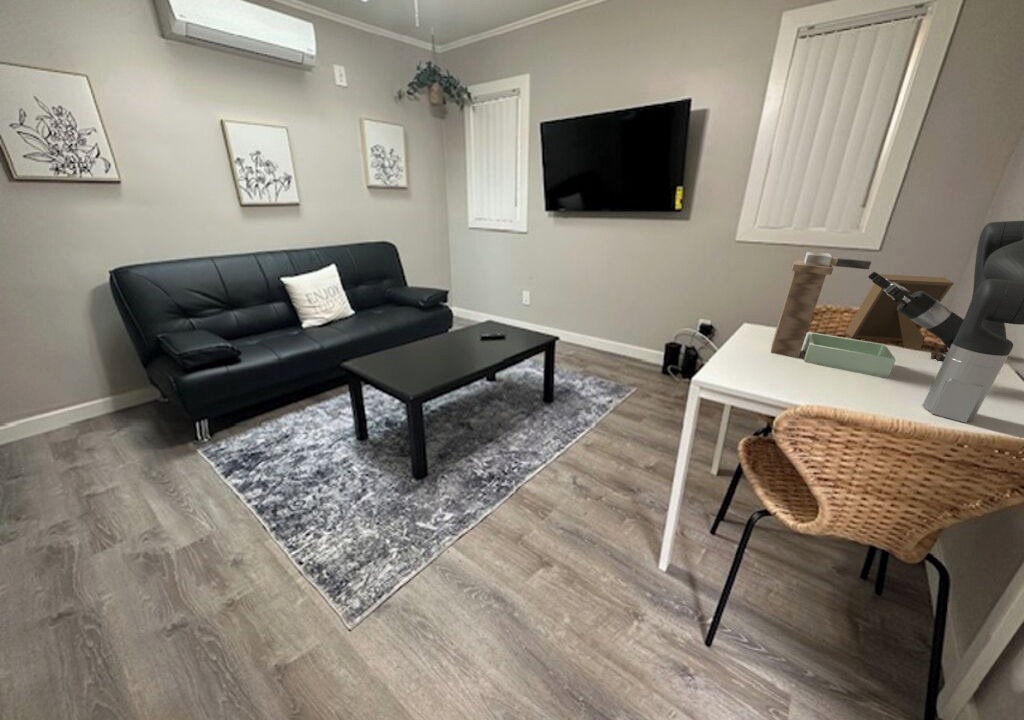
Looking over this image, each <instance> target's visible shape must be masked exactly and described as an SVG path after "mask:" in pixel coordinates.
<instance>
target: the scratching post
mask: <svg viewBox="0 0 1024 720" xmlns="http://www.w3.org/2000/svg"><path fill="white" fill-rule="evenodd" d="M804 260H805V259H804ZM804 260H803V259H795V258H794V259H792V262H791V272H792V273H793V274H792V276H791V280H790V283H789V286H788V290H787V292H786V297H785V299H784V303H783V306H782V308H781V313H780V316H779V320H778V322H777V326H776V329H775V332H774V335H773V338H772V339H773V340H772V343H771V348H770V353H772V354H775V355H781V356H786V357H792V358H797V359H799V358H800V354H801V352H802V350H803V346H804V343H805V340H806V337H807V334H808V332H809V328H810V325H811V321H812V319H813V316H814V313H815V309H816V308H817V303H818V301H819V297H820V295H821V292H822V288H823V285H824V282H825V279H826V276H828V275H829V276H831V275H832V273H833V270H834V266H829V267H824V266H814V265H805V262H804Z"/></svg>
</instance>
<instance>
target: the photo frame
mask: <svg viewBox="0 0 1024 720" xmlns="http://www.w3.org/2000/svg"><path fill="white" fill-rule="evenodd" d="M879 275H881V276H882V277H884V278H885V279H889V281H891V282H895V283H897V284H898V285H900V286H901V287H904V288H906V289H907V290H908V291H910V292H909V293H908V294H909V295H912V294H913V293H915V292H917V291H924V292H925V293H927V294H928V295H930V296H931V297H933V298H934V299H936V300H937V301H939V302H940V303H942V301H943V299H944V298H945V296H946V295H947V293H948V292H949V291H950V290H951V288H952V286H953V285H954V284H955V282H953V281H951V280H950V279H948V278H946V277H941V276H940V277H939V276H921V275H919V276H918V275H916V276H915V275H903V274H902V275H901V274H886V273H885V274H882V273H881V274H880V273H879ZM900 303H901V302H900V301H899V300H898V301H897V302H896V301H895V300H893V299H892V298H891V297H890V296H889V295H887V293H886V292H884V291H883V289H882V288H881V287H879V286H878V285H876V284H875V283H873V284H872V286H871V288H870V290H869V291H868V293H867V295H866V296H865V298H864V300H863V302H862V303H861V305H860V306H859V308H858V310H857V312H856V313H855V315H854V316H853V318H852V320H851V322H850V323H849V325H848V326H847V328H846V329H845V333H846V334H847V335H848V336H849V337H850V339H862V340H877V341H878V340H881V341H892V342H894V341H895V342H902V345H903V348H905V349H910V350H917V351H921V349H922V346H923V344H924V341H925V337H924V335H923V334H922V332H921V330H922V328H923V327H922V326H920V325H918V324H916V323H915V322H913V321H912V320H910V319H909V318H907V317H906V316H905V315H903V314H902V313H900V312H899V311H897V307H898V305H899V304H900Z"/></svg>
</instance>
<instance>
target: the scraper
mask: <svg viewBox="0 0 1024 720" xmlns="http://www.w3.org/2000/svg"><path fill="white" fill-rule="evenodd" d="M804 262H805V265H814V266H824V267H829V266H832V267H839V268H840V267H842V268H851V269H861V270H869V269H870V267H871V264H872V261H870V260H863V259H852V258H842V257H841V258H839V257H833V256H832V255H831V253H827V252H825V253H824V252H814V251H806V254H805V257H804Z"/></svg>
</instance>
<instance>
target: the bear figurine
mask: <svg viewBox="0 0 1024 720" xmlns="http://www.w3.org/2000/svg"><path fill="white" fill-rule="evenodd" d="M939 351H942V352H943V353H946V354H947V353H948V351H949V348H948V347H945V348H944V347H940V348H939ZM943 353H939V352H937V351H932V352H931V353H930V359H931V360H934V359H936V360H937V361H936V360H935V361H936V362H938V361H944V359H945V357H946V355H943Z"/></svg>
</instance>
